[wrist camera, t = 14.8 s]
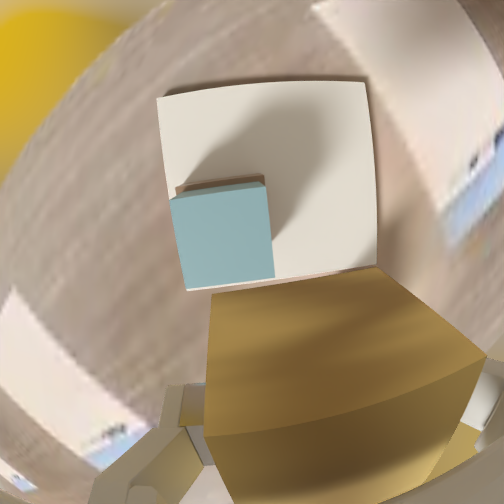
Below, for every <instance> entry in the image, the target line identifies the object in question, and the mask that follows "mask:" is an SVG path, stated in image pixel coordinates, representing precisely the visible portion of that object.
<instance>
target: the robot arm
mask: <svg viewBox="0 0 504 504" xmlns="http://www.w3.org/2000/svg"><path fill="white" fill-rule="evenodd" d="M205 387H206V383H193V384H182V385H168V386H167V388H166V390H165V394H164V399H163V404H162V409H161V414H160V419H159V424H158V428H152V429H151V430H150V431H149V432H147V433H146V434H145V435H144V436H143V437H142V438H141V439H140V440H139V441H138V442H136V443H135V444H134V445H133V446H132V447H131V448H130V449H129V450H128V451H126V452H125V453H124V454H123V455H122V456H121V457H120V458H118V459H117V460H116V461H115V462H114V463H113V464H112V465H110V466H109V467H108V468H107V469H106V470H105V471H103V472H102V473H101V474H100V475H99V476H97V477H96V478H95V480H94V484H93V487H92V491H91V494H90V498H89V502H88V504H178V503H179V502H180V501H181V499H182V498H183V496H184V495H185V494H186V492H187V491H188V490H189V488H190V487H191V485H192V484H193V483H194V481H195V480H196V478H197V477H198V475H199V474H200V473H201V471H202V470H203V468H204V467H203V466H208V465H215V462H214V460H213V458H212V456H211V454H210V451H209V449H208V447H207V444H206V442H205V440H204V437H203V431H204V407H205ZM460 421H461V422H463V423H465V424H467V425H469V426H471V427H473V428H475V429H478V430H480V431H482V432H481V434H480V436H479V437H478V439H477V441H476V442H475V446H474V447H475V448H476V449H477V451H478V452H479V453H477V454H476V455H474V456H472V457H471V458H469V459H468V460H466V461H465V462H463V463H461V464H460V465H458V466H456V467H454V468H453V469H451V470H450V471H448V472H446V473H444V474H442V475H440V476H438V477H437V478H435V479H433V480H431V481H429V482H427V483H425V484H423V485H420V486H418V487H416V488H414V489H412V490H410V491H408V492H405V493H403V494H401V495H399V496H396V497H393V498H391V499H389V500H386V501H383V502H381V503H378V504H504V362H501V361H497V360H494V359H489V358H486V361H485V364H484V366H483V369H482V372H481V374H480V377H479V380H478V382H477V384H476V387H475V389H474V392H473V394H472V396H471V399H470V401H469V403H468V405H467V407H466V410H465V412H464V414H463V416H462V418H461V420H460ZM0 504H35V503H32V502H29V501H27V500H25V499H22V498H20V497H18V496H15V495H13V494H11V493H9V492H7V491H4V490H2V489H0Z"/></svg>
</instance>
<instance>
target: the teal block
mask: <svg viewBox="0 0 504 504" xmlns="http://www.w3.org/2000/svg"><path fill="white" fill-rule="evenodd" d="M169 202H170V208H171V214H172V220H173V225H174V231H175V236H176V242H177V247H178V252H179V257H180V262H181V267H182V272H183V277H184V282H185V286H186V289H191V288H199V287H207V286H216V285H223V284H231V283H239V282H246V281H254V280H261V279H269V278H275V269H274V259H273V249H272V239H271V230H270V220H269V211H268V202H267V193H266V186H264V185H263V184H262V183H260V182H259V181H257V182H249V183H241V184H233V185H225V186H218V187H211V188H204V189H198V190H191V191H185V192H181V193H180V194H178V195H176V196H175V197H173V198H172V199H170V200H169Z"/></svg>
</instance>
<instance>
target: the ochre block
mask: <svg viewBox="0 0 504 504" xmlns="http://www.w3.org/2000/svg"><path fill="white" fill-rule="evenodd" d="M486 358H487V355H486V354H485V353H484V352H483V351H482V350H481V349H479V348H478V347H477V346H476V345H475V344H474V343H472V342H471V341H470V340H469V339H468V338H467V337H465V336H464V335H463V334H462V333H461V332H459V331H458V330H457V329H456V328H455V327H453V326H452V325H451V324H450V323H448V322H447V321H446V320H445V319H444V318H442V317H441V316H440V315H439V314H437V313H436V312H435V311H434V310H432V309H431V308H430V307H429V306H427V305H426V304H425V303H424V302H422V301H421V300H420V299H418V298H417V297H416V296H415V295H413V294H412V293H411V292H409V291H408V290H407V289H405V288H404V287H403V286H402V285H400V284H399V283H398V282H396V281H395V280H394V279H392V278H391V277H390V276H388V275H387V274H386V273H384V272H383V271H382V270H380V269H379V268H377V267H373V268H367V269H362V270H357V271H351V272H346V273H340V274H335V275H329V276H323V277H318V278H312V279H306V280H300V281H294V282H288V283H282V284H275V285H269V286H263V287H256V288H250V289H243V290H236V291H230V292H223V293H216V294H212V299H211V312H210V325H209V339H208V353H207V370H206V387H205V407H204V431H203V437H204V440H205V442H206V444H207V447H208V449H209V451H210V454H211V456H212V458H213V460H214V462H215V465H216V467H217V469H218V471H219V473H220V475H221V477H222V480H223V482H224V484H225V486H226V488H227V490H228V492H229V494H230V496H231V498H232V500H233V502H234V504H376V503H378V502H381V501H384V500H386V499H389V498H391V497H394V496H396V495H399V494H401V493H403V492H406V491H408V490H410V489H412V488H414V487H417V486H419V485H421V484H423V483H424V481H425V479H426V478H427V477H428V475H429V474H430V472H431V471H432V469H433V468H434V466H435V465H436V463H437V461H438V460H439V458H440V456H441V455H442V453H443V451H444V450H445V448H446V446H447V444H448V443H449V441H450V439H451V437H452V435H453V434H454V432H455V430H456V428H457V426H458V424H459V422H460V420H461V418H462V416H463V414H464V412H465V410H466V407H467V405H468V403H469V401H470V399H471V396H472V394H473V392H474V389H475V387H476V384H477V382H478V380H479V377H480V374H481V372H482V369H483V366H484V364H485V361H486Z"/></svg>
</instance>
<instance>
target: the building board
mask: <svg viewBox="0 0 504 504" xmlns="http://www.w3.org/2000/svg"><path fill="white" fill-rule="evenodd" d="M157 108H158V118H159V127H160V135H161V144H162V152H163V159H164V166H165V173H166V180H167V187H168V193H169V200H170V199H172V198H173V197H175V196H176V195H178V194H180V193H181V192H185V191H191V190H198V189H204V188H211V187H218V186H225V185H233V184H241V183H249V182H257V181H259V182H260V183H262V184H263V185H264V186H266V193H267V202H268V211H269V220H270V230H271V239H272V249H273V259H274V269H275V278H269V279H261V280H254V281H246V282H239V283H231V284H223V285H216V286H207V287H199V288H191V289H186V290H187V291H192V290H200V289H208V288H216V287H224V286H232V285H240V284H248V283H255V282H262V281H270V280H277V279H284V278H291V277H298V276H305V275H311V274H318V273H324V272H331V271H337V270H344V269H350V268H356V267H362V266H368V265H374V264H377V205H376V182H375V166H374V154H373V143H372V133H371V124H370V116H369V108H368V101H367V95H366V88H365V82H347V81H288V82H269V83H256V84H245V85H235V86H227V87H219V88H212V89H205V90H198V91H192V92H187V93H181V94H176V95H171V96H166V97H161V98H157Z"/></svg>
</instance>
